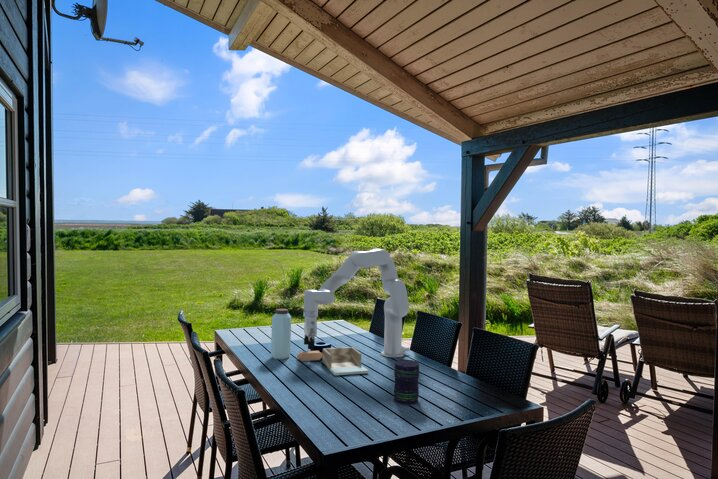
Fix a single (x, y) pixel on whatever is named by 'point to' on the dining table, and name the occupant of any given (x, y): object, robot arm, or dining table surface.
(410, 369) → the storage jar
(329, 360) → the crate
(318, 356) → the dome-capped square column
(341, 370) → the tailgate
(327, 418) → the dining table surface
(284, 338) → the water bottle
